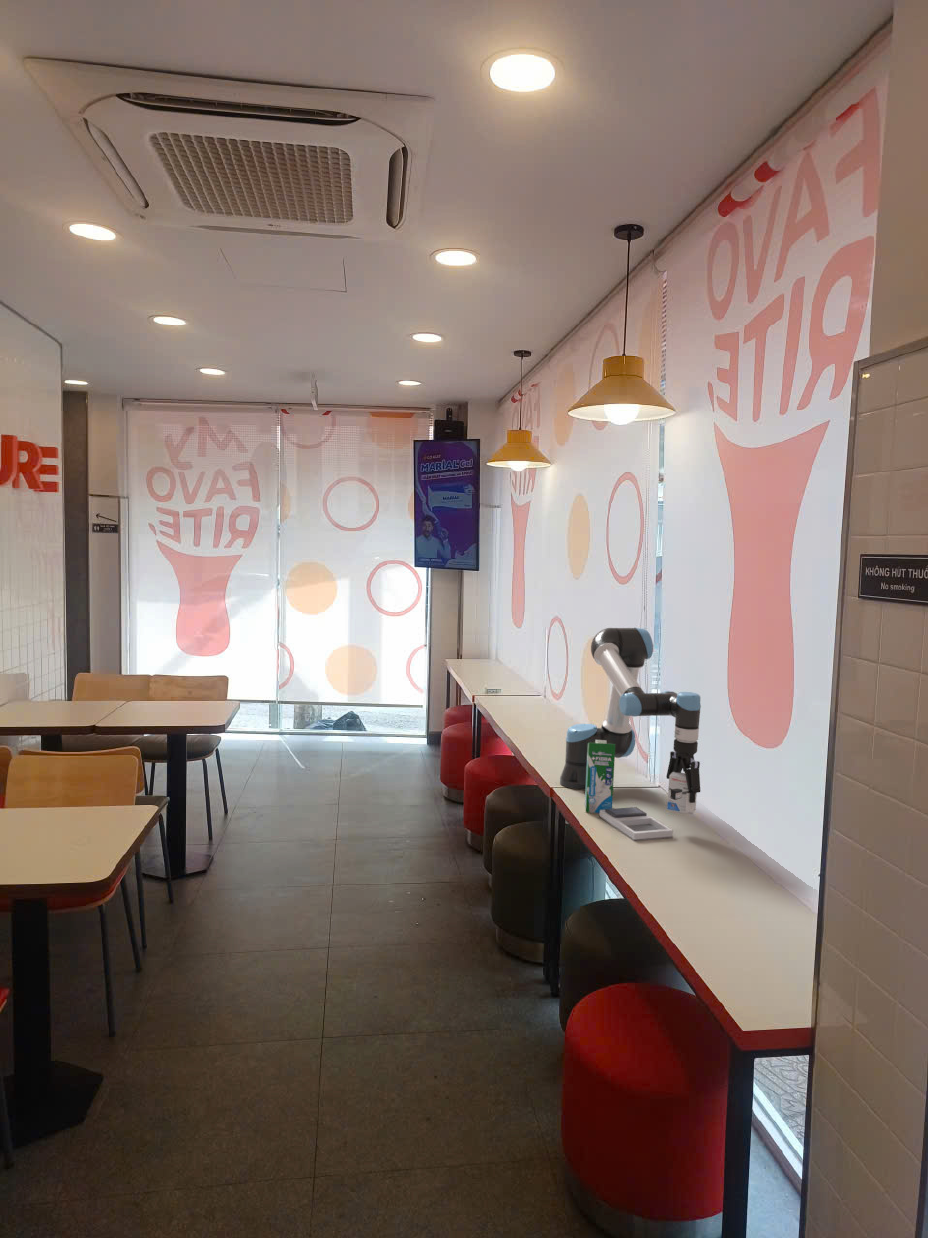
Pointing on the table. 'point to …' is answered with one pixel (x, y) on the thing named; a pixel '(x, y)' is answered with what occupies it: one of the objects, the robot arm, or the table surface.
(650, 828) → the socket plate
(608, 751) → the milk carton
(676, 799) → the ink box
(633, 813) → the phone slab
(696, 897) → the table surface
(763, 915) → the table surface
